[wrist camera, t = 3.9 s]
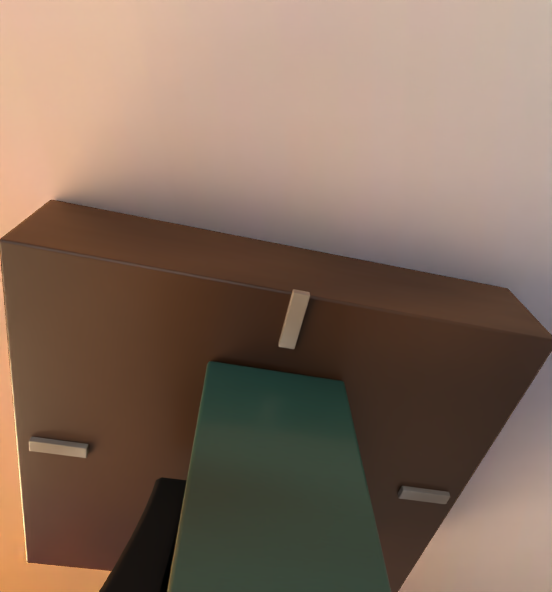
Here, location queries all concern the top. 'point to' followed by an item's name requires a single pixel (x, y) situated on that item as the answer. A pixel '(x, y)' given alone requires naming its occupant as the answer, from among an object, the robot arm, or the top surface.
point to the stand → (245, 352)
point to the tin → (275, 490)
